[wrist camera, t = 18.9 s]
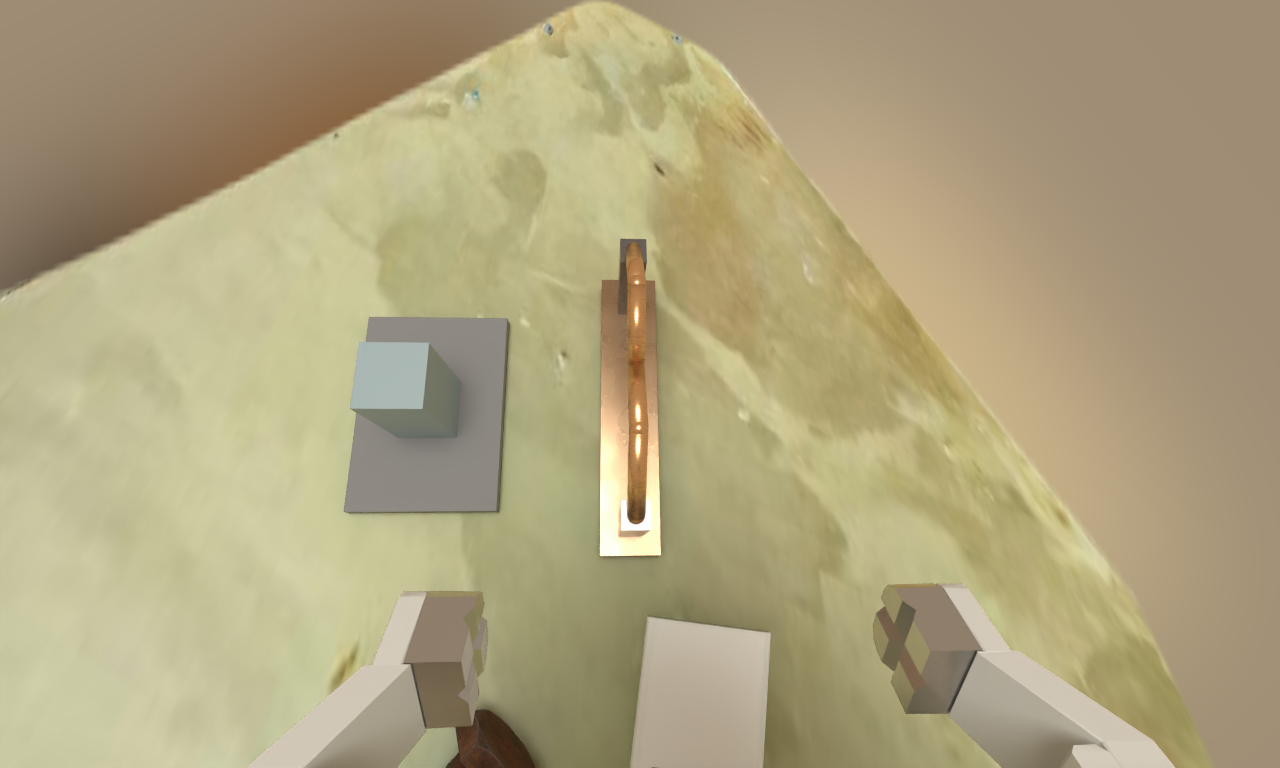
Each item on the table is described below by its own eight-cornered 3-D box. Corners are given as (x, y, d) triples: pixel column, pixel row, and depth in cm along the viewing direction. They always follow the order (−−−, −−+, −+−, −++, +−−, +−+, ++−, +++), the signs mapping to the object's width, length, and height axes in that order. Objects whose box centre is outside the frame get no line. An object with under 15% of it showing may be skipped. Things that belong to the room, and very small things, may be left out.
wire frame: (658, 555, 41) (683, 551, 28) (600, 556, 40) (597, 552, 27) (653, 289, 46) (671, 183, 33) (602, 288, 46) (600, 182, 33)
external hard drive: (765, 630, 40) (752, 846, 36) (646, 614, 40) (621, 829, 36) (772, 632, 39) (759, 858, 35) (647, 616, 39) (621, 841, 35)
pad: (498, 511, 41) (496, 510, 40) (349, 513, 40) (343, 511, 39) (509, 323, 45) (507, 318, 44) (374, 322, 44) (369, 316, 43)
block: (456, 437, 41) (422, 408, 33) (397, 437, 41) (349, 408, 33) (461, 382, 42) (429, 342, 35) (403, 382, 42) (358, 341, 34)
